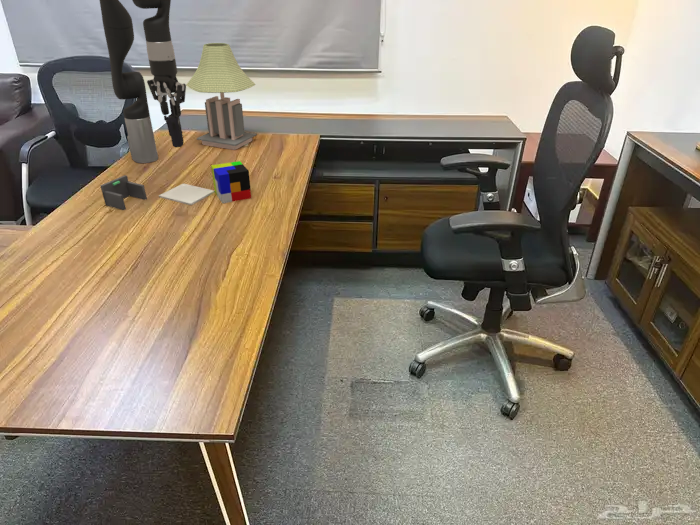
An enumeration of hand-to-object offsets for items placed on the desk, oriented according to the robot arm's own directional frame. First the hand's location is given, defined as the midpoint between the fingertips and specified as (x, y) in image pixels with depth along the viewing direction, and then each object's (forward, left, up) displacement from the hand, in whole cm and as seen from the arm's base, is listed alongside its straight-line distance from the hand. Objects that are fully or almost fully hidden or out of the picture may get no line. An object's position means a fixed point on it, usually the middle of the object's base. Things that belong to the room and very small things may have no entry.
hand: (171, 115), depth 154 cm
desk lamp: (-23, +52, -27) cm, 63 cm away
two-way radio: (0, 0, -10) cm, 10 cm away
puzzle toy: (+14, +7, -28) cm, 32 cm away
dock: (-13, -14, -27) cm, 33 cm away
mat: (0, 0, -27) cm, 27 cm away
